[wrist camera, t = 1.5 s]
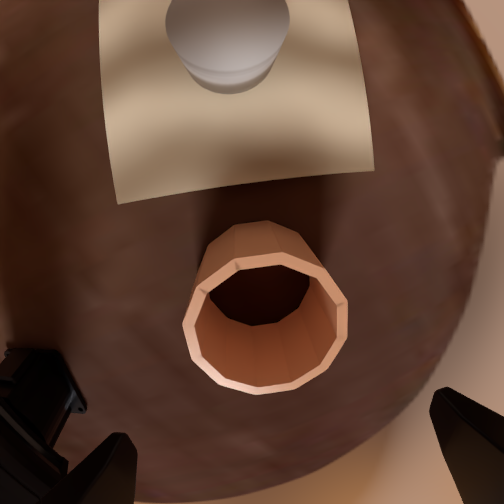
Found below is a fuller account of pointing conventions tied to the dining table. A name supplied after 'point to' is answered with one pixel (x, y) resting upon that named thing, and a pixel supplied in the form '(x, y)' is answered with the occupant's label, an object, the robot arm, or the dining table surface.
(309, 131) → the duct mount
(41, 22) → the dining table surface
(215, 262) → the collar sleeve
